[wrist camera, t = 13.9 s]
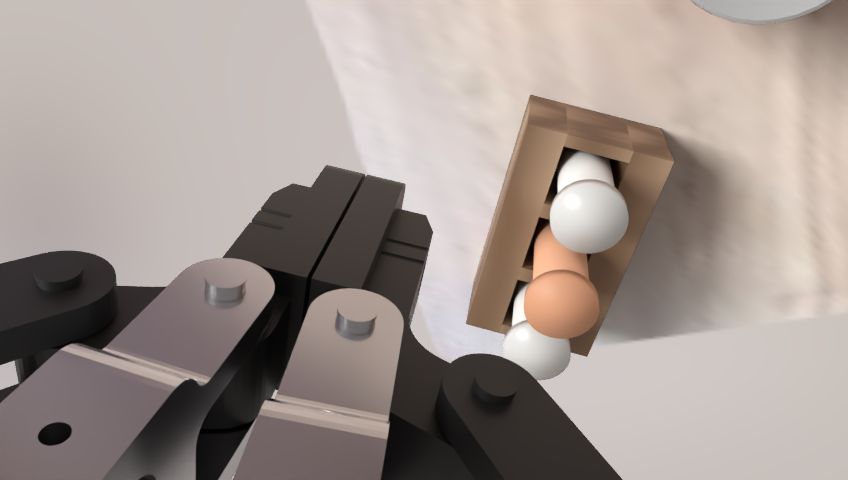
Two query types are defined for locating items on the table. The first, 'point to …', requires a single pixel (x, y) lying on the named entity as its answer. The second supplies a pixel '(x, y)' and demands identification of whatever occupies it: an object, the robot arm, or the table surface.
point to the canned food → (760, 9)
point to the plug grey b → (587, 203)
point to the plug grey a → (533, 343)
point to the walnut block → (535, 191)
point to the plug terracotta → (559, 288)
